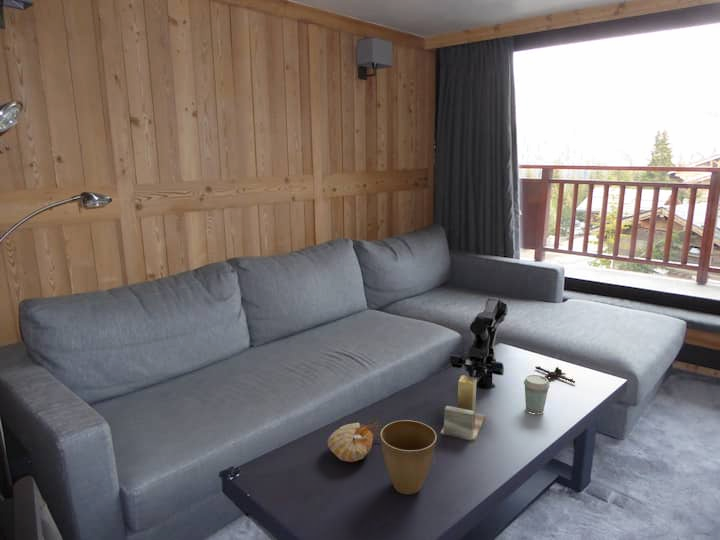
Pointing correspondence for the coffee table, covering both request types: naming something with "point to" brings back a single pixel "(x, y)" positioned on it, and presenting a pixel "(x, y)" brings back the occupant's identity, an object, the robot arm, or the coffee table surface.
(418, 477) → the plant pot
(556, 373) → the dark brown branching piece
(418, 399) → the coffee table surface
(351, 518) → the coffee table surface
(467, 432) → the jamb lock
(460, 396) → the latch bar
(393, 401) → the coffee table surface
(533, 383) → the coffee cup
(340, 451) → the nautilus
